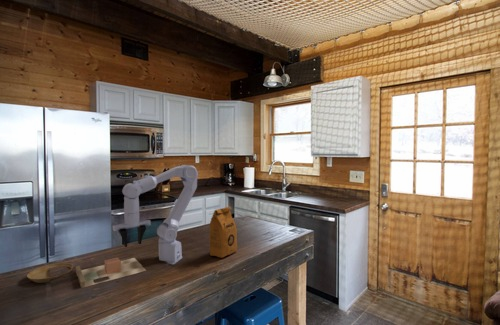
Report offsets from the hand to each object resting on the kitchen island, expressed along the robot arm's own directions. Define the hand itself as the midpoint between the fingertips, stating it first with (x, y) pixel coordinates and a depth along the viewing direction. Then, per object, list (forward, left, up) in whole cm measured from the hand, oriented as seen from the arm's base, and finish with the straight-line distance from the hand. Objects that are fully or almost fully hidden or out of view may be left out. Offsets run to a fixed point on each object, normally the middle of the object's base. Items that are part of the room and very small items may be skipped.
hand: (132, 244), depth 113 cm
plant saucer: (+27, +14, -10) cm, 32 cm away
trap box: (+5, +7, -10) cm, 13 cm away
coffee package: (-31, -24, -10) cm, 41 cm away
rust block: (+5, +6, -9) cm, 12 cm away
